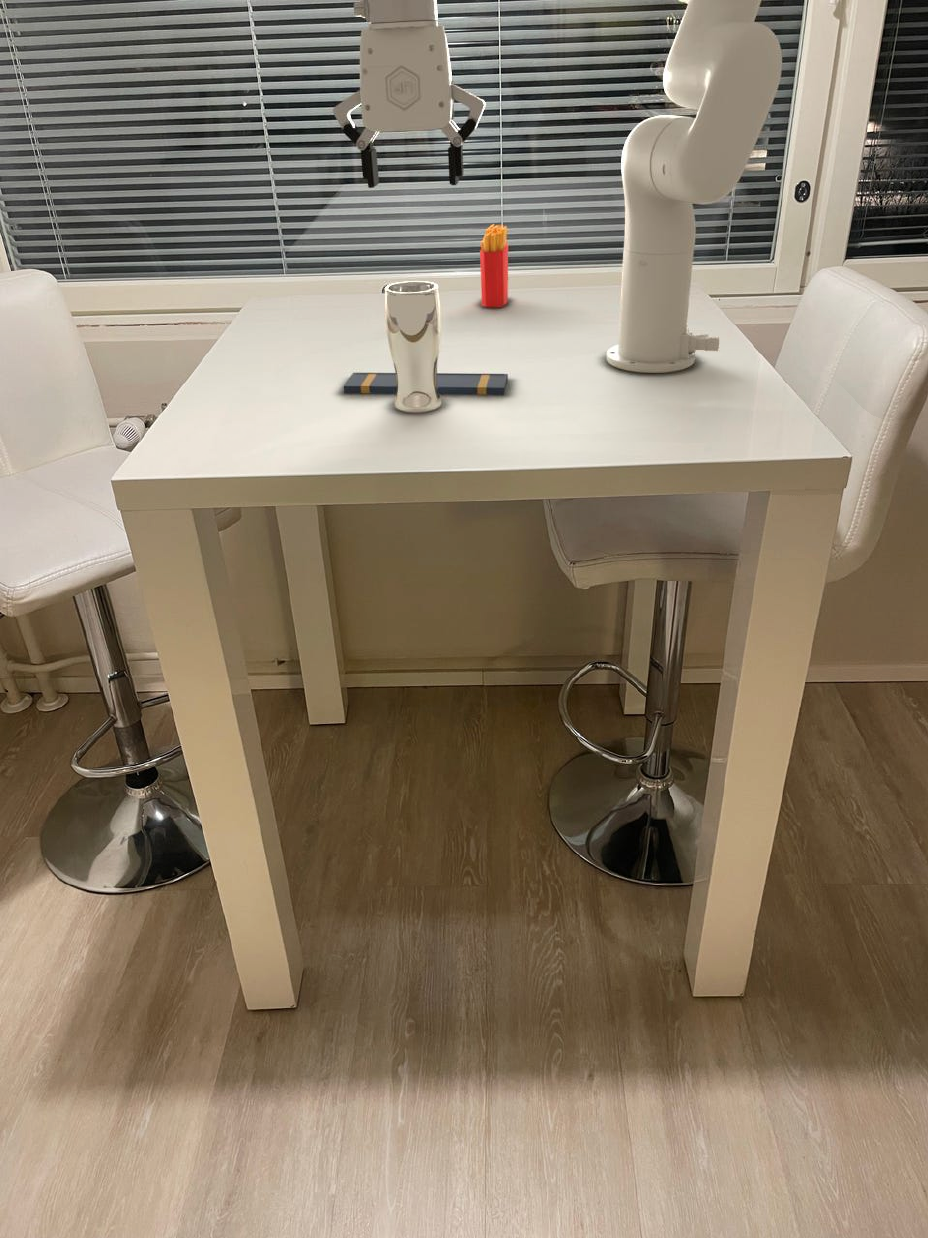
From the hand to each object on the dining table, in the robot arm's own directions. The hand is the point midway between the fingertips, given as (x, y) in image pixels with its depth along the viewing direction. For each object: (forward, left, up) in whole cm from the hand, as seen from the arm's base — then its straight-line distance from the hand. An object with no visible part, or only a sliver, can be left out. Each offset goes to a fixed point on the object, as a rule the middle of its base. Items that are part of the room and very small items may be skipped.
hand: (413, 184), depth 111 cm
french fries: (-4, -54, -27) cm, 61 cm away
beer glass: (+1, +1, -27) cm, 27 cm away
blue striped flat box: (+1, -6, -26) cm, 27 cm away
